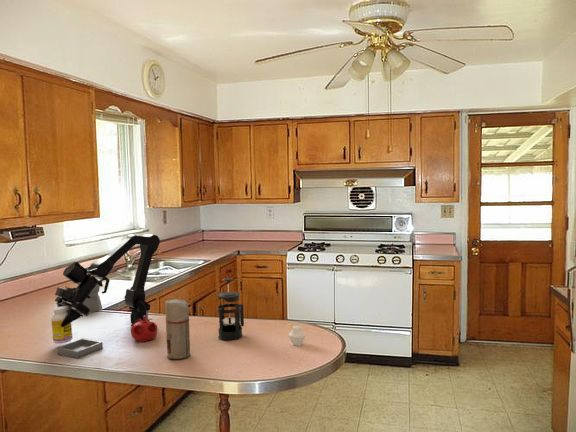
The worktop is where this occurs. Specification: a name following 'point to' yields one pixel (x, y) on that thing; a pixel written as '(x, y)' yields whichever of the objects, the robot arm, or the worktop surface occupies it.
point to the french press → (232, 324)
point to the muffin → (297, 336)
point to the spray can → (177, 329)
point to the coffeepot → (96, 296)
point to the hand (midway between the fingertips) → (57, 324)
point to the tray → (80, 348)
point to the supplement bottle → (60, 332)
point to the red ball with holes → (144, 330)
